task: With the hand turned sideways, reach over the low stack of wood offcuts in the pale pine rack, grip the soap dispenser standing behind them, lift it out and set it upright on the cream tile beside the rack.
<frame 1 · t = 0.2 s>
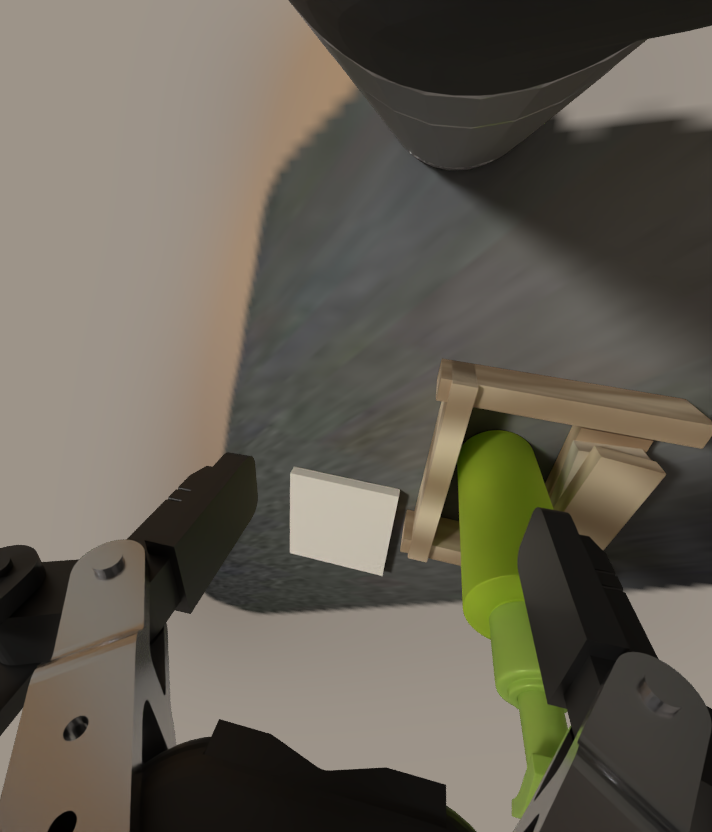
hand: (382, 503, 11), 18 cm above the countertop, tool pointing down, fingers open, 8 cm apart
offcut stack: (578, 483, 29), on the countertop
pine rack: (494, 466, 30), on the countertop
soap dispenser: (493, 464, 30), resting in pine rack
cream tile: (341, 520, 37), on the countertop
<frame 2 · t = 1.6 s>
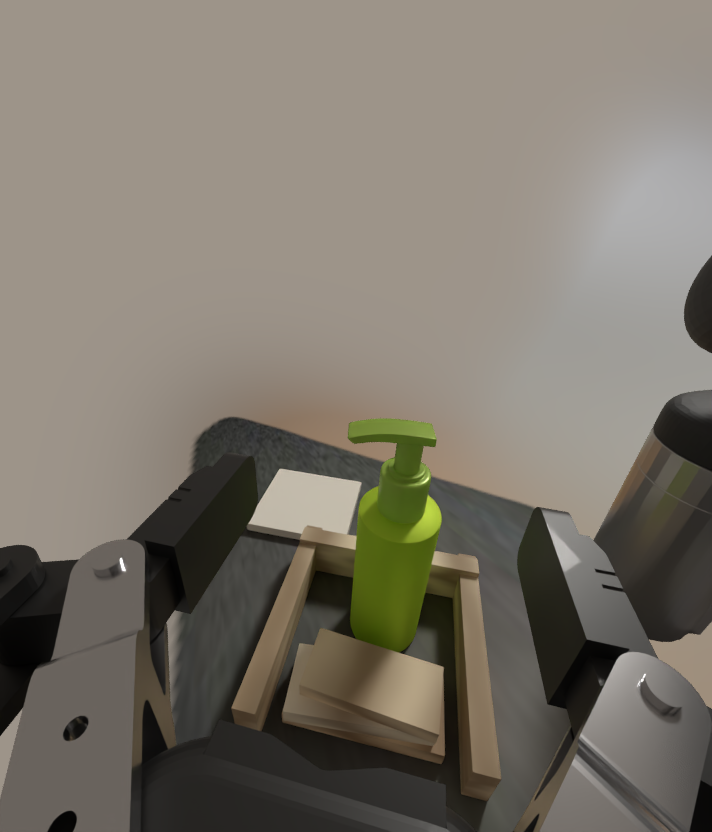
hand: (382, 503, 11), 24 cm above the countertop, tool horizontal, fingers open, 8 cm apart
offcut stack: (365, 704, 27), on the countertop
pine rack: (377, 620, 33), on the countertop
soap dispenser: (377, 621, 33), resting in pine rack
cream tile: (308, 507, 44), on the countertop
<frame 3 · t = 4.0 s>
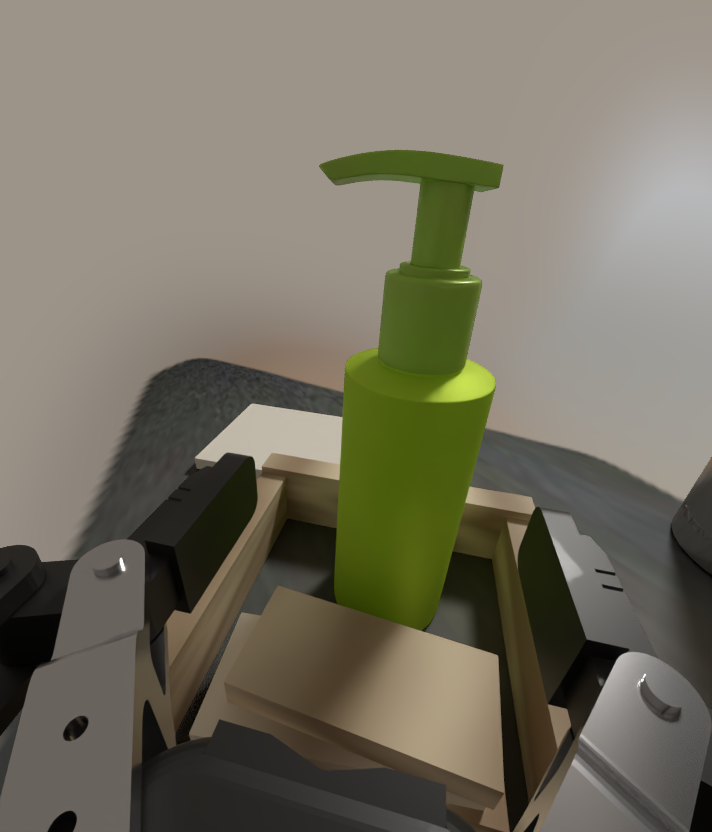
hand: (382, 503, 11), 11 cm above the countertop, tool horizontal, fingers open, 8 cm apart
offcut stack: (352, 721, 15), on the countertop
pine rack: (376, 586, 21), on the countertop
soap dispenser: (376, 589, 21), resting in pine rack
cream tile: (285, 446, 33), on the countertop
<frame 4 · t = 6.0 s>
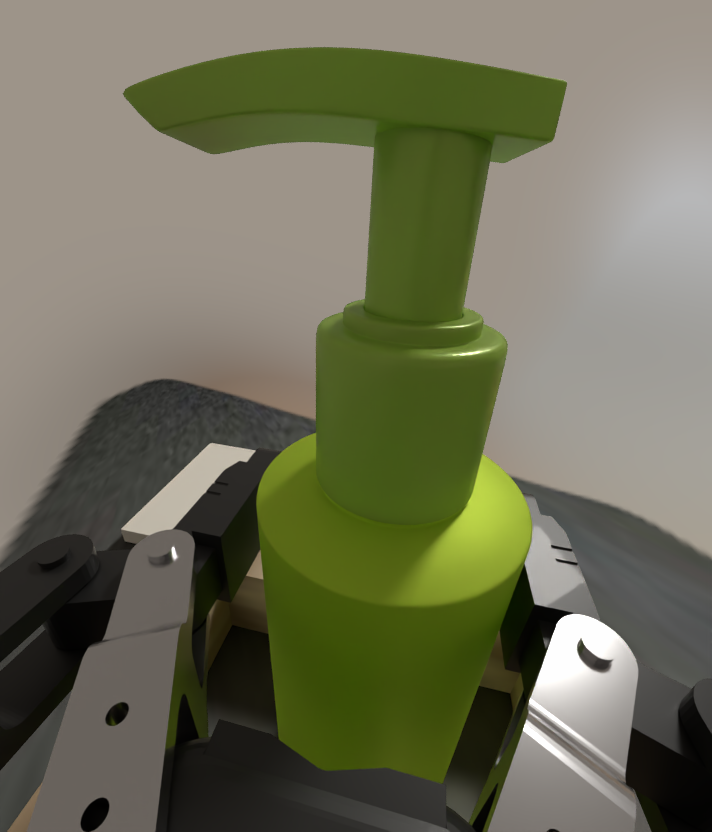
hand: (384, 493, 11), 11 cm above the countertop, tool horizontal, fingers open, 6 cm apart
pine rack: (346, 754, 14), on the countertop
soap dispenser: (346, 756, 14), resting in pine rack, touching gripper
cream tile: (245, 503, 26), on the countertop
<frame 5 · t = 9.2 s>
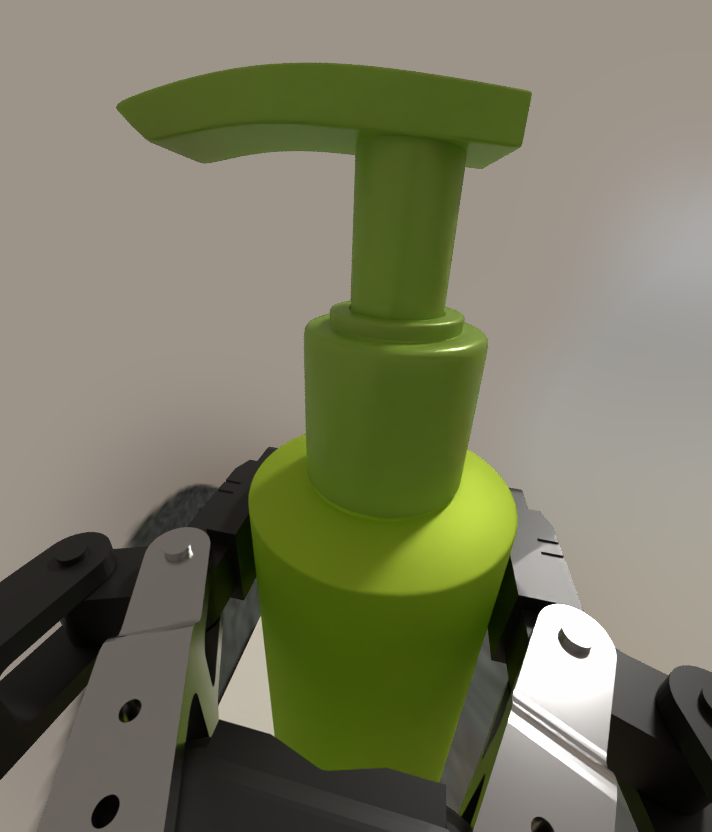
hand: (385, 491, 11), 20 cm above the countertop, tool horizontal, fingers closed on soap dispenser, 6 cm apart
soap dispenser: (343, 759, 14), point 8 cm above the countertop, touching gripper
cream tile: (312, 719, 22), on the countertop
when the fingers open (13 cm above the countertop, at t = 12.1 s): soap dispenser moves 1 cm, resting on cream tile.
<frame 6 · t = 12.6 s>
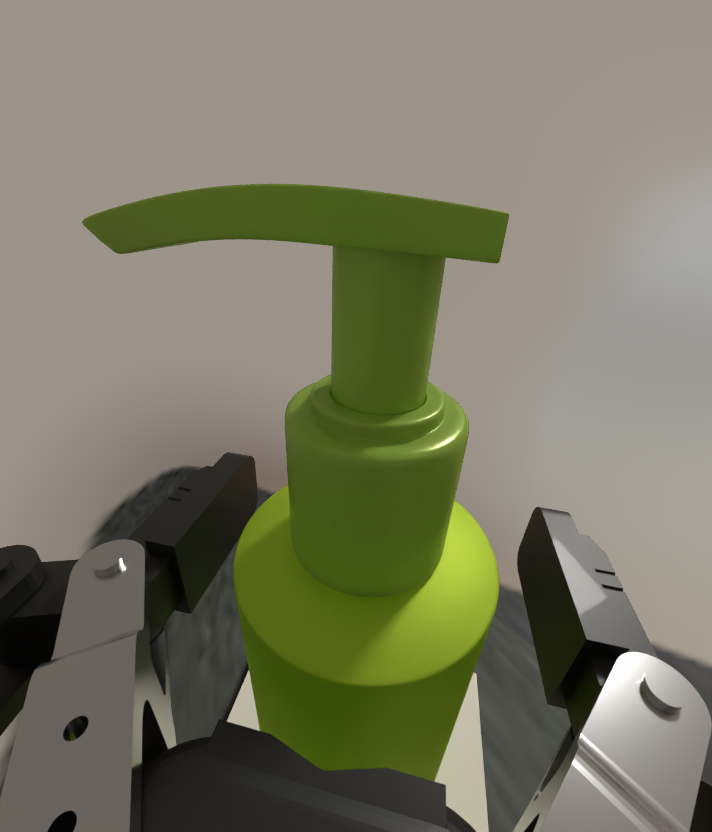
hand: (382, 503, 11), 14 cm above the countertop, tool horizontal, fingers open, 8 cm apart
soap dispenser: (335, 777, 15), point 1 cm above the countertop, touching cream tile
cream tile: (345, 780, 15), on the countertop
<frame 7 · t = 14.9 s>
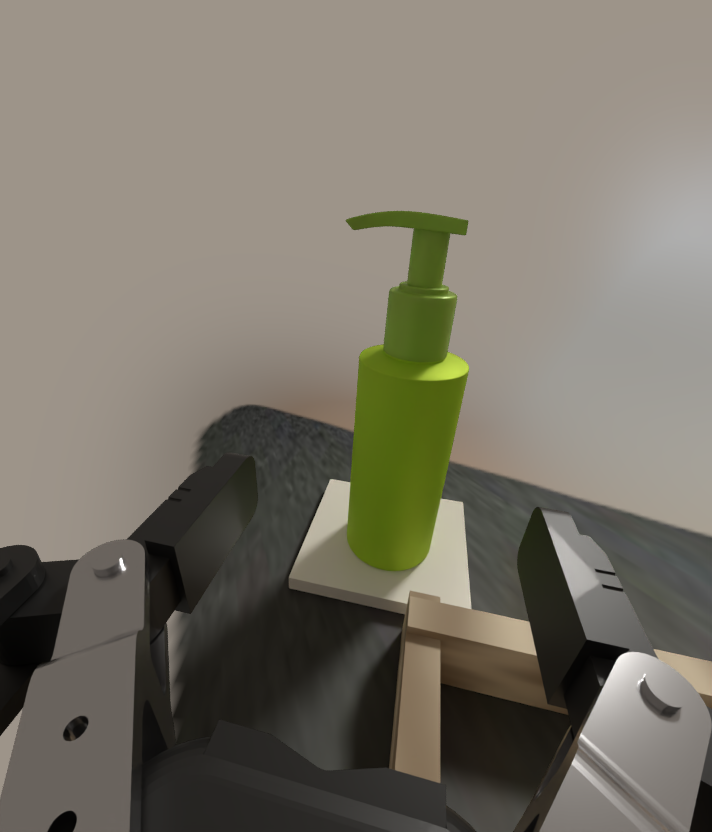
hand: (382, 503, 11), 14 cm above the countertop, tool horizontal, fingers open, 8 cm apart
pine rack: (594, 821, 15), on the countertop
soap dispenser: (380, 538, 26), point 1 cm above the countertop, touching cream tile
cream tile: (386, 545, 27), on the countertop
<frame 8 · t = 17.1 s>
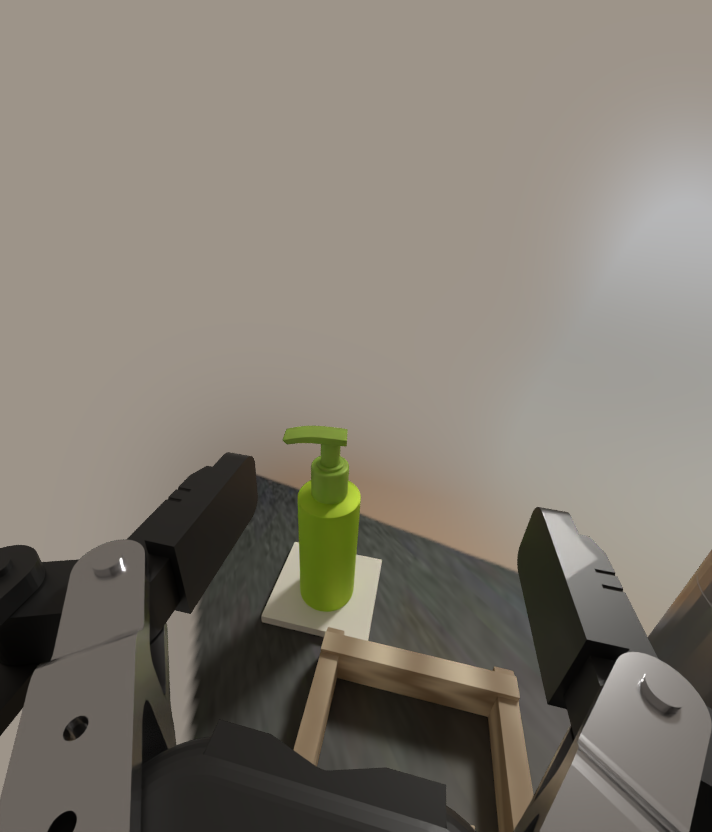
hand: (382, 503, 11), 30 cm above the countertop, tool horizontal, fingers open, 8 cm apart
pine rack: (406, 748, 30), on the countertop
soap dispenser: (322, 587, 41), point 1 cm above the countertop, touching cream tile
cream tile: (326, 591, 42), on the countertop
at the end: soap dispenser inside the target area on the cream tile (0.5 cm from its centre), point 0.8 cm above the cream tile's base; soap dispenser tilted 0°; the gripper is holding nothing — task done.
